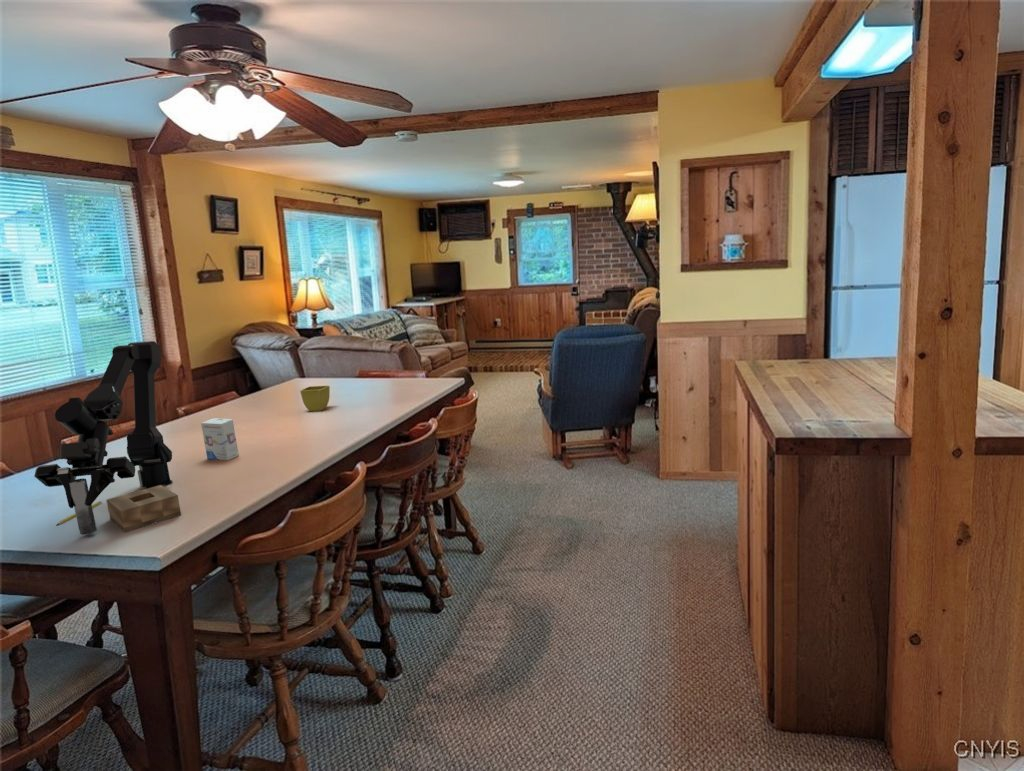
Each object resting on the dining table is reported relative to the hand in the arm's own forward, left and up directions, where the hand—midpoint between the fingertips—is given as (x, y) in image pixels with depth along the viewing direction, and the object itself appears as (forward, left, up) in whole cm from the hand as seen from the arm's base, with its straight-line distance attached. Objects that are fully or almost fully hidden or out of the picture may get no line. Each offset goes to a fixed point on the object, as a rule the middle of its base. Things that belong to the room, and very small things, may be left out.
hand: (79, 506), depth 143 cm
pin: (-1, -1, -7) cm, 7 cm away
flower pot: (-96, -71, -8) cm, 119 cm away
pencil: (-3, -19, -8) cm, 21 cm away
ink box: (-45, -37, -8) cm, 59 cm away
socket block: (-13, -2, -7) cm, 15 cm away
